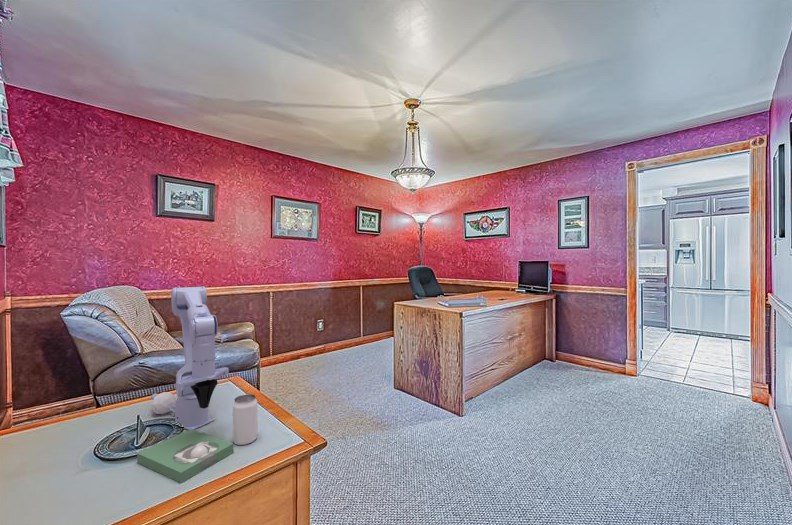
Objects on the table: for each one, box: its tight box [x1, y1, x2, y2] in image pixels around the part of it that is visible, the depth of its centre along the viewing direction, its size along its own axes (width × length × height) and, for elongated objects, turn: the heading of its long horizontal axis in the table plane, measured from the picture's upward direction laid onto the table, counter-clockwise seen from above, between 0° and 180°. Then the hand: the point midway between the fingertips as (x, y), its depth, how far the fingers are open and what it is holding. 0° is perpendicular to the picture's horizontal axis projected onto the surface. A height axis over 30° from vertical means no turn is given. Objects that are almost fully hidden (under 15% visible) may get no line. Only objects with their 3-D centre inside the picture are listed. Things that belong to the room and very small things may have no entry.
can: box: [232, 393, 259, 446], centre depth 99 cm, size 6×6×12 cm
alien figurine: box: [150, 391, 177, 418], centre depth 116 cm, size 7×7×12 cm
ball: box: [189, 446, 208, 459], centre depth 88 cm, size 4×4×4 cm
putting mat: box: [136, 429, 235, 484], centre depth 90 cm, size 18×14×2 cm
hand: (204, 407), depth 98 cm, fingers closed
